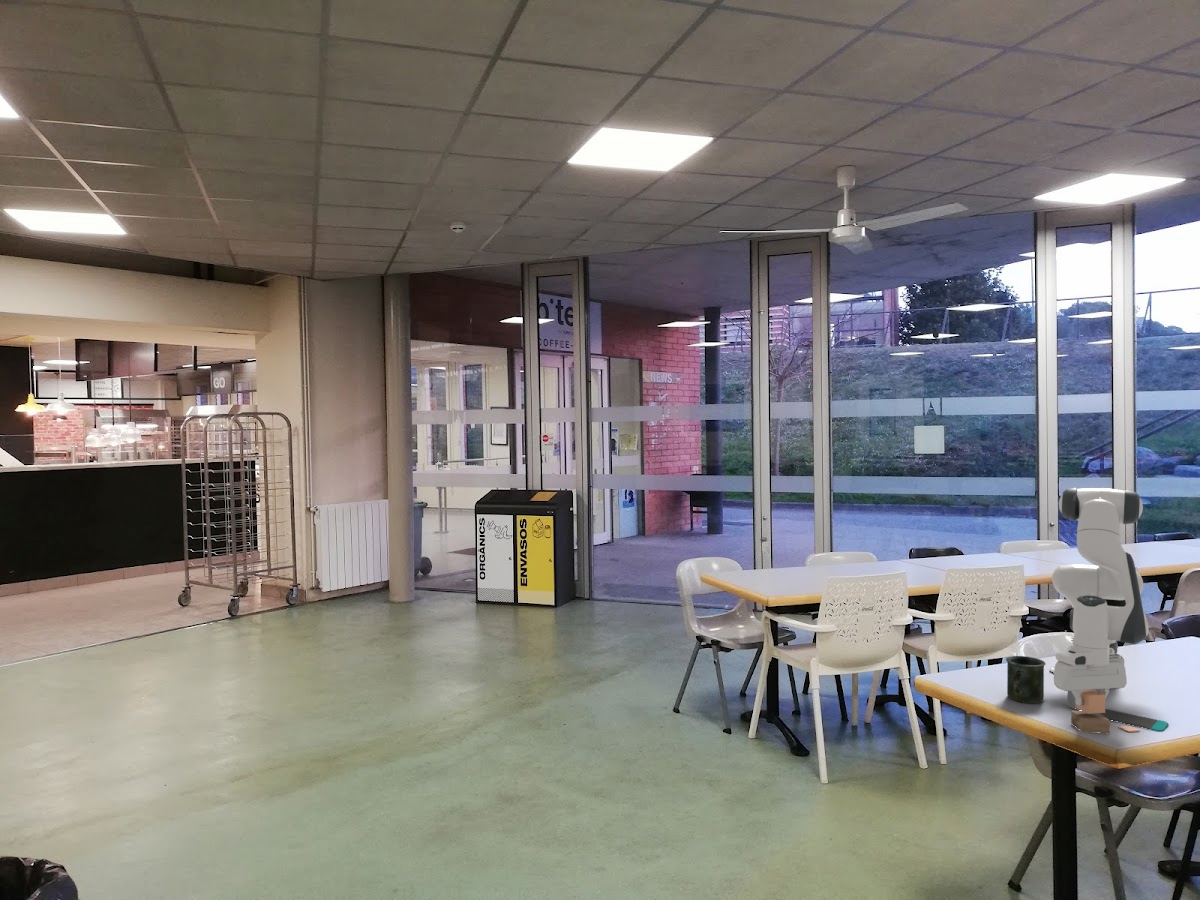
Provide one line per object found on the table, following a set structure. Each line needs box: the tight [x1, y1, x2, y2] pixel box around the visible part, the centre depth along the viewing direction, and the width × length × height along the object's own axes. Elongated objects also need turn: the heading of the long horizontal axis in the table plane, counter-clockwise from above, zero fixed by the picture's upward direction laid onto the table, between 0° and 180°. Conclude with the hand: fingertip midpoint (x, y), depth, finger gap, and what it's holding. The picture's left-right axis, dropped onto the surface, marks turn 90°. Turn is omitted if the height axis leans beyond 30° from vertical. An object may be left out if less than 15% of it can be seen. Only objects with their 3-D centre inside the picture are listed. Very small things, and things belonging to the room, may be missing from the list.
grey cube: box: [1067, 691, 1080, 711], centre depth 241 cm, size 5×5×5 cm
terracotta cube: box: [1076, 689, 1106, 714], centre depth 224 cm, size 5×5×5 cm
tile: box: [1117, 725, 1141, 733], centre depth 223 cm, size 4×4×1 cm
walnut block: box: [1070, 709, 1111, 734], centre depth 224 cm, size 7×7×4 cm
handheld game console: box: [1100, 708, 1169, 732], centre depth 232 cm, size 19×1×10 cm
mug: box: [1005, 655, 1046, 704], centre depth 249 cm, size 11×15×12 cm
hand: (1090, 704), depth 224 cm, fingers closed on terracotta cube, 5 cm apart
